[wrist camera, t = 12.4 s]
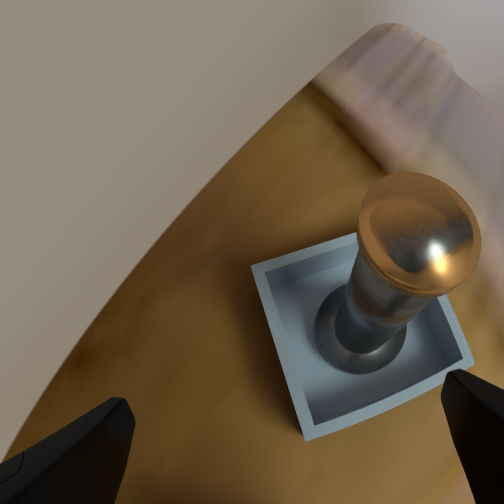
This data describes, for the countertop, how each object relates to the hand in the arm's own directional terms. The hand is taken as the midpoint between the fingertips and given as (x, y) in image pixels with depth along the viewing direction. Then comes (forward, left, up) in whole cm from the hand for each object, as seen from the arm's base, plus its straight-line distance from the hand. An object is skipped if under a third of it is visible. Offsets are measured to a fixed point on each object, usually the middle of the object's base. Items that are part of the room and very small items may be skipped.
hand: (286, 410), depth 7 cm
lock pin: (+4, -6, -12) cm, 14 cm away
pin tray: (+4, -6, -13) cm, 14 cm away
